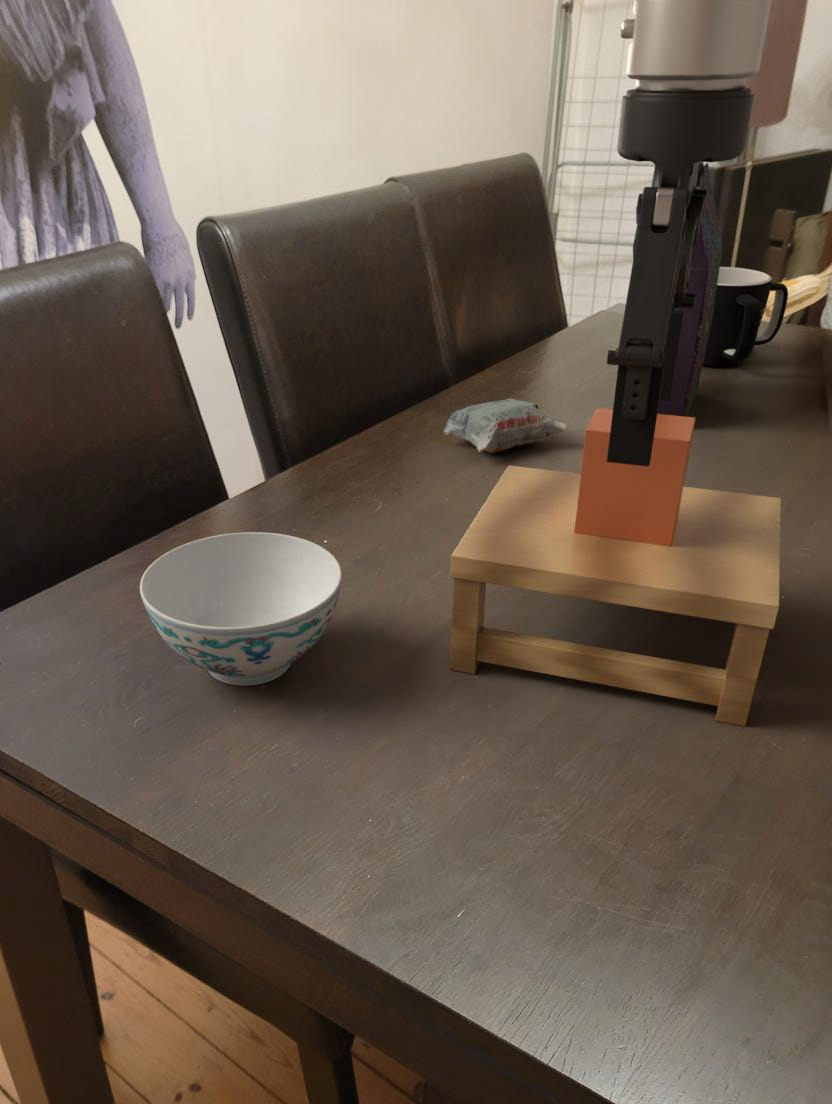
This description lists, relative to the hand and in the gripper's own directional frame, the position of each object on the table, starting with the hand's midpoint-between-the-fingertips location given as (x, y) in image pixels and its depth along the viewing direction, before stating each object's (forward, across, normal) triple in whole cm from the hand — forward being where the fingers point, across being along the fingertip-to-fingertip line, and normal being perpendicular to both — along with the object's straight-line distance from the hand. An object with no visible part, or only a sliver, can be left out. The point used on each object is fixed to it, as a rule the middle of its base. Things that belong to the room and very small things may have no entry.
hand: (640, 428), depth 68 cm
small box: (+8, 0, 0) cm, 8 cm away
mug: (+18, -83, +3) cm, 85 cm away
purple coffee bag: (+18, -59, -2) cm, 62 cm away
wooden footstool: (+18, 0, 0) cm, 18 cm away
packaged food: (+18, -39, -18) cm, 46 cm away
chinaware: (+18, +13, -26) cm, 34 cm away
